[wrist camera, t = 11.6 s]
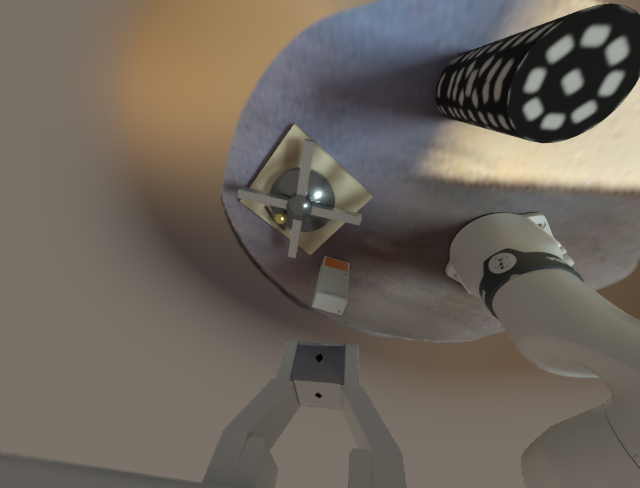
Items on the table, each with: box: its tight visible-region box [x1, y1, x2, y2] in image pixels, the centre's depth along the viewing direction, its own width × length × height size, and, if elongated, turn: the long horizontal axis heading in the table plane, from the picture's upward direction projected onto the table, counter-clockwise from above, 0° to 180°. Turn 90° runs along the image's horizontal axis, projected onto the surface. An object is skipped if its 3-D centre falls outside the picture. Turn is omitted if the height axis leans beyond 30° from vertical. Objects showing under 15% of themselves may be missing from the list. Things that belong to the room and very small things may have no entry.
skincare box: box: [312, 255, 350, 315], centre depth 49 cm, size 6×4×12 cm
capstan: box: [238, 139, 362, 258], centre depth 43 cm, size 17×17×4 cm
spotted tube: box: [436, 4, 640, 143], centre depth 26 cm, size 8×8×20 cm
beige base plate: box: [240, 124, 373, 255], centre depth 46 cm, size 18×18×1 cm
